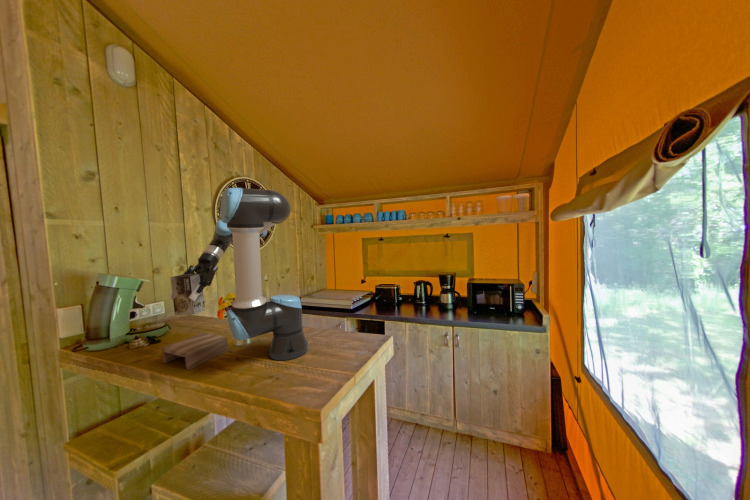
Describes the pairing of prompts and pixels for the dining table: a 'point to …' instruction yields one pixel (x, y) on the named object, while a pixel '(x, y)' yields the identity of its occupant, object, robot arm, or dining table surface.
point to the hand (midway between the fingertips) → (181, 299)
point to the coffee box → (186, 294)
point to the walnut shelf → (196, 349)
